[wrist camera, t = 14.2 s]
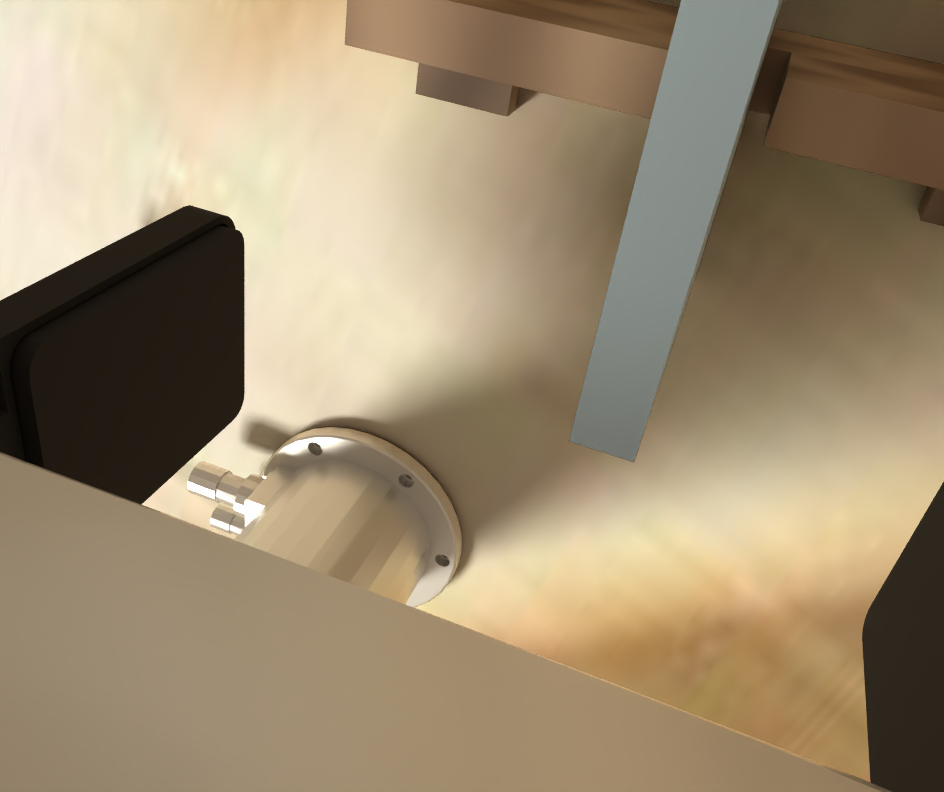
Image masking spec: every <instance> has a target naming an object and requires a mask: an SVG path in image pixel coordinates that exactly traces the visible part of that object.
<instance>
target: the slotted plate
mask: <svg viewBox="0 0 944 792" xmlns="http://www.w3.org/2000/svg"><path fill="white" fill-rule="evenodd" d="M782 3H783V0H681V3H680V7H679V11H678V15H677V19H676V23H675V26H674V30H673V34H672V38H671V42H670V46H669V50H668V54H667V58H666V62H665V66H664V70H663V74H662V77H661V81H660V85H659V89H658V93H657V97H656V101H655V105H654V109H653V113H652V117H651V121H650V125H649V129H648V132H647V136H646V140H645V144H644V148H643V152H642V156H641V160H640V164H639V168H638V172H637V176H636V180H635V184H634V187H633V191H632V195H631V199H630V203H629V207H628V211H627V215H626V219H625V223H624V227H623V231H622V235H621V239H620V242H619V246H618V250H617V254H616V258H615V262H614V266H613V270H612V274H611V278H610V282H609V286H608V290H607V293H606V297H605V301H604V305H603V309H602V313H601V317H600V321H599V325H598V329H597V333H596V337H595V341H594V345H593V348H592V352H591V356H590V360H589V364H588V368H587V372H586V376H585V380H584V384H583V388H582V392H581V396H580V400H579V403H578V407H577V411H576V415H575V419H574V423H573V427H572V431H571V435H570V439H569V441H570V442H573V443H576V444H579V445H582V446H585V447H588V448H591V449H594V450H597V451H601V452H604V453H607V454H610V455H613V456H616V457H619V458H622V459H625V460H628V461H631V462H634V460H635V457H636V454H637V451H638V448H639V445H640V442H641V439H642V436H643V433H644V430H645V427H646V424H647V421H648V418H649V415H650V412H651V409H652V406H653V403H654V400H655V397H656V394H657V391H658V388H659V385H660V382H661V379H662V376H663V373H664V370H665V367H666V364H667V361H668V358H669V355H670V352H671V349H672V346H673V343H674V340H675V337H676V334H677V331H678V328H679V325H680V322H681V319H682V316H683V313H684V310H685V307H686V304H687V301H688V298H689V295H690V292H691V289H692V286H693V283H694V280H695V277H696V274H697V271H698V268H699V265H700V261H701V258H702V255H703V252H704V249H705V246H706V243H707V239H708V236H709V233H710V230H711V227H712V224H713V220H714V217H715V214H716V211H717V208H718V205H719V201H720V198H721V195H722V192H723V189H724V186H725V183H726V179H727V176H728V173H729V170H730V167H731V164H732V160H733V157H734V154H735V151H736V148H737V145H738V141H739V138H740V135H741V132H742V129H743V126H744V123H745V119H746V116H747V113H748V107H749V104H750V101H751V98H752V95H753V91H754V88H755V85H756V82H757V79H758V76H759V72H760V69H761V66H762V63H763V60H764V57H765V53H766V50H767V47H768V44H769V41H770V38H771V34H772V31H773V28H774V26H775V23H776V20H777V17H778V15H779V12H780V9H781V6H782Z"/></svg>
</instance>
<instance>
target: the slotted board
mask: <svg viewBox="0 0 944 792" xmlns="http://www.w3.org/2000/svg"><path fill="white" fill-rule="evenodd" d="M678 11H679V8H677V7H672V6H667V5H663V4H658V3H653V2H649V1H644V0H347V15H346V33H345V45H348V46H352V47H356V48H361V49H365V50H369V51H373V52H377V53H381V54H385V55H389V56H393V57H398V58H402V59H406V60H410V61H414V62H418V63H419V67H418V76H417V86H416V94H419V95H423V96H427V97H431V98H435V99H439V100H443V101H447V102H451V103H455V104H459V105H463V106H467V107H471V108H475V109H479V110H483V111H487V112H491V113H495V114H499V115H503V116H508V115H510V114H511V113H512V112H514V111H515V110H516V106H517V100H518V95H519V89H520V87H521V88H525V89H529V90H533V91H538V92H542V93H546V94H550V95H554V96H558V97H562V98H566V99H571V100H575V101H579V102H583V103H587V104H591V105H595V106H599V107H603V108H608V109H612V110H616V111H620V112H624V113H628V114H632V115H636V116H641V117H645V118H649V119H651V117H652V113H653V109H654V105H655V101H656V97H657V93H658V89H659V85H660V81H661V77H662V74H663V70H664V66H665V62H666V58H667V54H668V50H669V46H670V42H671V38H672V34H673V30H674V26H675V23H676V19H677V15H678ZM748 110H752V111H756V112H760V113H765V114H769V115H770V119H769V123H768V127H767V132H766V136H765V140H764V144H763V146H764V147H768V148H772V149H776V150H781V151H785V152H789V153H793V154H797V155H801V156H805V157H809V158H814V159H818V160H822V161H826V162H830V163H834V164H838V165H842V166H846V167H851V168H855V169H859V170H863V171H867V172H871V173H875V174H879V175H884V176H888V177H892V178H896V179H900V180H904V181H908V182H912V183H916V184H921V185H925V186H929V187H928V189H927V191H926V193H925V195H924V197H923V200H922V202H921V204H920V206H919V208H918V213H919V216H920V220H921V221H925V222H929V223H933V224H937V225H941V226H944V65H943V64H938V63H933V62H929V61H924V60H919V59H915V58H910V57H905V56H901V55H896V54H891V53H887V52H882V51H877V50H873V49H868V48H863V47H859V46H854V45H849V44H845V43H840V42H835V41H831V40H826V39H821V38H817V37H812V36H807V35H803V34H798V33H793V32H789V31H784V30H779V29H775V28H773V31H772V34H771V38H770V41H769V44H768V47H767V50H766V53H765V57H764V60H763V63H762V66H761V69H760V72H759V76H758V79H757V82H756V85H755V88H754V91H753V95H752V98H751V101H750V104H749V107H748Z"/></svg>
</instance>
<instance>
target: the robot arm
mask: <svg viewBox="0 0 944 792" xmlns="http://www.w3.org/2000/svg"><path fill="white" fill-rule="evenodd" d="M243 400H244V238H243V236H242V233H241V232H240V231H238V230H235V226H234V223H233V221H232V220H231V219H230V218H229V217H228V216H224V215H221V214H218V213H214V212H211V211H207V210H204V209H201V208H197V207H194V206H190V205H189V206H185V207H183V208H181V209H179V210H177V211H175V212H173V213H171V214H169V215H167V216H165V217H163V218H161V219H159V220H157V221H155V222H153V223H151V224H149V225H147V226H145V227H143V228H142V229H140V230H138V231H136V232H134V233H132V234H130V235H128V236H126V237H124V238H122V239H120V240H118V241H116V242H114V243H112V244H110V245H108V246H106V247H104V248H102V249H100V250H98V251H97V252H95V253H93V254H91V255H89V256H87V257H85V258H83V259H81V260H79V261H77V262H75V263H73V264H71V265H69V266H67V267H65V268H63V269H61V270H59V271H57V272H55V273H53V274H52V275H50V276H48V277H46V278H44V279H42V280H40V281H38V282H36V283H34V284H32V285H30V286H28V287H26V288H24V289H22V290H20V291H18V292H16V293H14V294H12V295H10V296H8V297H6V298H5V299H3V300H1V301H0V792H944V482H943V484H942V485H941V487H940V489H939V490H938V492H937V494H936V496H935V497H934V499H933V501H932V502H931V504H930V506H929V508H928V509H927V511H926V513H925V514H924V516H923V518H922V519H921V521H920V523H919V525H918V526H917V528H916V530H915V531H914V533H913V535H912V536H911V538H910V540H909V542H908V543H907V545H906V547H905V548H904V550H903V552H902V553H901V555H900V557H899V559H898V560H897V562H896V564H895V565H894V567H893V569H892V570H891V572H890V574H889V576H888V577H887V579H886V581H885V582H884V584H883V586H882V587H881V589H880V591H879V593H878V594H877V596H876V598H875V599H874V601H873V603H872V604H871V606H870V608H869V610H868V613H867V615H866V618H865V622H864V626H863V632H862V642H863V659H864V676H865V693H866V711H867V728H868V745H869V762H870V780H871V783H870V782H868V781H865V780H863V779H860V778H858V777H856V776H853V775H850V774H848V773H845V772H843V771H840V770H837V769H835V768H832V767H830V766H827V765H824V764H822V763H819V762H817V761H814V760H811V759H809V758H806V757H804V756H801V755H798V754H796V753H793V752H791V751H788V750H785V749H783V748H780V747H778V746H775V745H772V744H770V743H767V742H764V741H762V740H759V739H757V738H754V737H751V736H749V735H746V734H744V733H741V732H738V731H736V730H733V729H731V728H728V727H725V726H723V725H720V724H718V723H715V722H712V721H710V720H707V719H705V718H702V717H699V716H697V715H694V714H692V713H689V712H686V711H684V710H681V709H679V708H676V707H673V706H671V705H668V704H666V703H663V702H660V701H658V700H655V699H653V698H650V697H647V696H645V695H642V694H640V693H637V692H634V691H632V690H629V689H627V688H624V687H621V686H619V685H616V684H614V683H611V682H608V681H606V680H603V679H601V678H598V677H595V676H593V675H590V674H587V673H585V672H582V671H580V670H577V669H574V668H572V667H569V666H566V665H564V664H561V663H558V662H556V661H553V660H550V659H548V658H545V657H543V656H540V655H537V654H535V653H532V652H529V651H527V650H524V649H521V648H519V647H516V646H513V645H511V644H508V643H506V642H503V641H500V640H498V639H495V638H492V637H490V636H487V635H484V634H482V633H479V632H476V631H474V630H471V629H469V628H466V627H463V626H461V625H458V624H455V623H453V622H450V621H447V620H445V619H442V618H439V617H437V616H434V615H432V614H429V613H426V612H424V611H421V610H418V609H416V608H413V607H417V606H419V605H422V604H424V603H426V602H429V601H431V600H432V599H433V598H435V597H436V596H437V595H439V594H440V593H441V592H442V591H443V590H444V588H445V587H446V586H447V585H448V583H449V582H450V580H451V578H452V576H453V575H454V573H455V571H456V569H457V567H458V564H459V560H460V556H461V552H462V534H461V530H460V525H459V521H458V517H457V515H456V513H455V510H454V508H453V506H452V504H451V501H450V500H449V498H448V497H447V495H446V493H445V492H444V490H443V489H442V487H441V486H440V484H439V483H438V482H437V481H436V480H435V479H434V478H433V476H432V475H431V474H430V473H429V472H428V471H427V470H426V469H425V468H424V467H423V466H422V465H421V464H420V463H418V462H417V461H416V460H415V459H413V458H412V457H411V456H410V455H409V454H407V453H406V452H404V451H402V450H401V449H399V448H398V447H396V446H394V445H393V444H391V443H389V442H387V441H385V440H383V439H380V438H378V437H376V436H373V435H371V434H368V433H364V432H360V431H357V430H353V429H348V428H336V427H326V428H317V429H311V430H308V431H305V432H302V433H299V434H297V435H295V436H294V437H292V438H291V439H289V440H288V441H286V442H285V443H284V444H283V445H282V446H281V447H280V448H279V449H278V450H277V451H276V452H275V453H274V454H273V455H272V456H271V458H270V459H269V461H268V463H267V464H266V466H265V467H264V470H263V474H262V477H260V476H257V475H250V476H249V477H247V478H246V479H244V478H241V477H239V476H236V475H233V474H232V473H231V472H230V471H228V470H226V469H223V468H220V467H217V466H215V465H212V464H209V463H206V462H200V463H198V464H197V465H196V466H195V467H194V469H193V471H192V472H191V474H190V477H189V480H188V490H189V492H190V493H193V494H195V495H198V496H201V497H203V498H206V499H209V500H211V501H214V502H218V503H220V502H222V503H225V504H227V505H230V506H233V507H234V510H233V509H230V508H227V507H225V506H222V505H219V506H218V507H216V509H215V510H214V512H213V514H212V516H211V520H210V524H211V527H214V528H217V529H219V530H222V531H224V532H227V533H230V534H232V533H233V534H235V535H238V536H237V537H236V538H235V539H231V538H228V537H226V536H223V535H220V534H218V533H215V532H212V531H210V530H207V529H205V528H202V527H199V526H197V525H194V524H191V523H189V522H186V521H183V520H181V519H178V518H176V517H173V516H170V515H168V514H165V513H162V512H160V511H157V510H154V509H151V508H149V507H146V506H143V505H141V504H142V503H144V502H145V501H146V500H147V499H148V498H149V497H150V496H151V495H152V494H153V493H154V492H156V491H157V490H158V489H159V488H160V487H161V486H162V485H163V484H164V483H165V482H166V481H167V480H169V479H170V478H171V477H172V476H173V475H174V474H175V473H176V472H177V471H178V470H179V469H181V468H182V467H183V466H184V465H185V464H186V463H187V462H188V461H189V460H190V459H191V458H193V457H194V456H195V455H196V454H197V453H198V452H199V451H200V450H201V449H202V448H203V447H204V446H206V445H207V444H208V443H209V442H210V441H211V440H212V439H213V438H214V437H215V436H216V435H218V434H219V433H220V432H221V431H222V430H223V429H224V428H225V427H226V426H227V425H228V424H230V423H231V422H232V421H233V420H234V419H235V417H236V416H237V415H238V413H239V411H240V409H241V407H242V404H243Z"/></svg>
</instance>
